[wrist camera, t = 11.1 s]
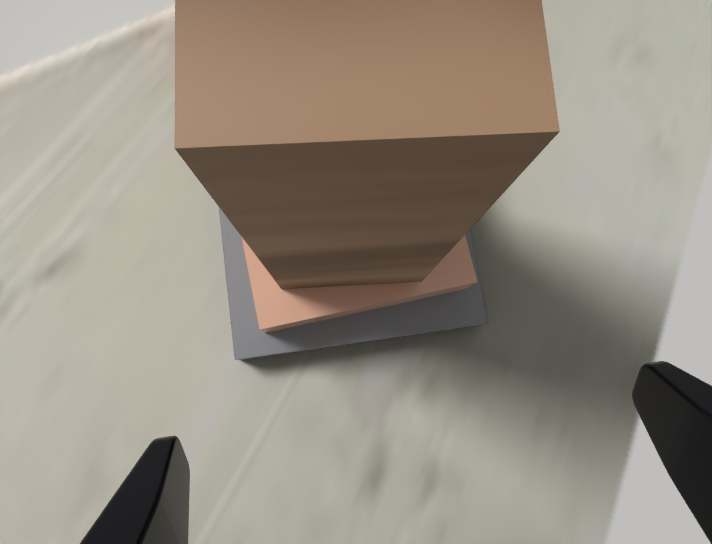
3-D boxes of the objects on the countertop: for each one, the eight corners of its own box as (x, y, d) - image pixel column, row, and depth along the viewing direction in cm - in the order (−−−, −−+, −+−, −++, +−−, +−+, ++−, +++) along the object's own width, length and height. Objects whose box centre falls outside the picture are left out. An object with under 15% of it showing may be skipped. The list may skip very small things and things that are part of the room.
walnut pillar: (421, 281, 19) (559, 130, 7) (281, 289, 18) (175, 148, 7) (411, 149, 20) (516, -183, 8) (277, 155, 19) (175, -176, 8)
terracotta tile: (463, 289, 21) (477, 282, 19) (265, 333, 20) (259, 329, 18) (415, 108, 22) (424, 83, 20) (227, 141, 21) (218, 119, 19)
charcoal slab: (473, 326, 23) (488, 322, 21) (242, 360, 22) (234, 359, 20) (434, 114, 24) (444, 92, 22) (218, 137, 24) (209, 116, 22)
